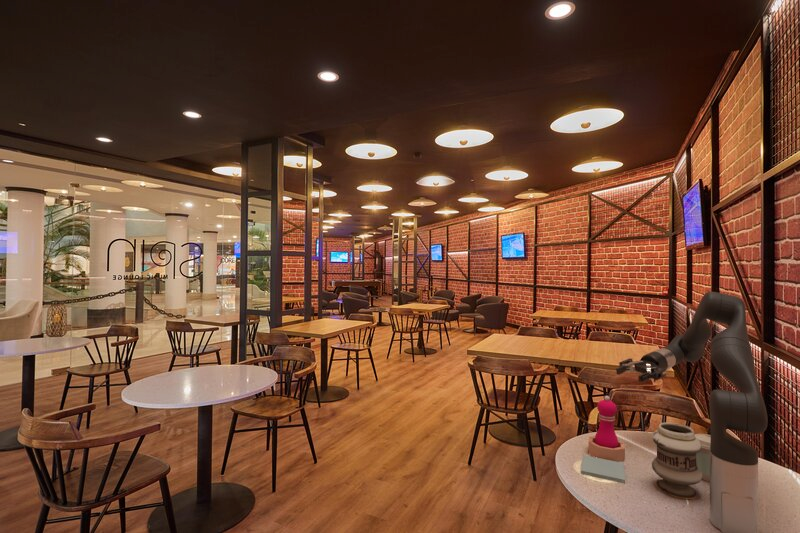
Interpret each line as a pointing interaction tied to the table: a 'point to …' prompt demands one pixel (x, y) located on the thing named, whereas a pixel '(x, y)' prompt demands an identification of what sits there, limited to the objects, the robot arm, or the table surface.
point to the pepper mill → (606, 424)
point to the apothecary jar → (676, 460)
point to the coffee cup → (704, 455)
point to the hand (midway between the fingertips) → (628, 375)
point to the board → (603, 468)
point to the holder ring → (606, 451)
